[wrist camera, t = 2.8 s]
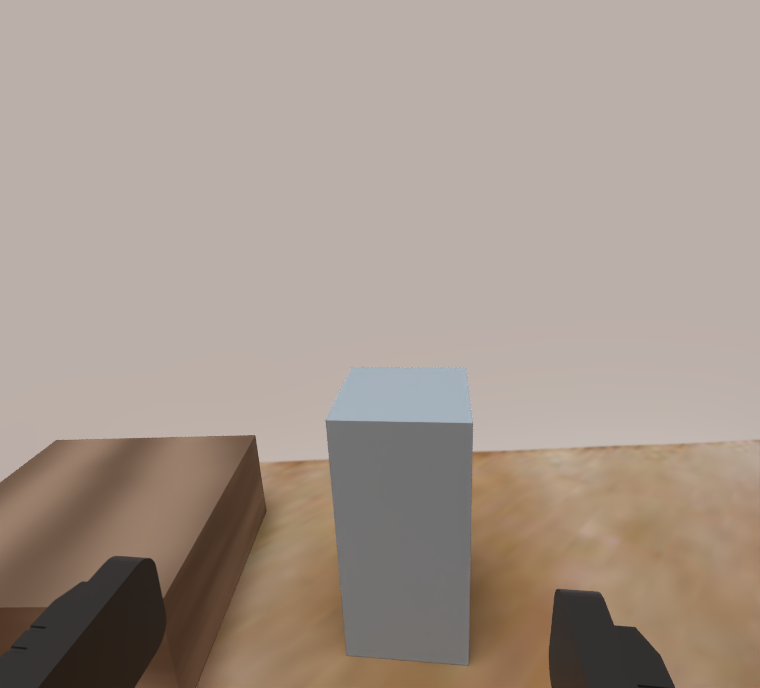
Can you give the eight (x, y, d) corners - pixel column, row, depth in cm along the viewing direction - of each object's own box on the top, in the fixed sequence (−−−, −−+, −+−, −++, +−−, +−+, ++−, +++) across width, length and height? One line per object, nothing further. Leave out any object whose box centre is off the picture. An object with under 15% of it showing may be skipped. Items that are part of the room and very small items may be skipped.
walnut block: (266, 514, 33) (255, 435, 31) (186, 718, 20) (158, 606, 18) (78, 518, 33) (56, 440, 31) (-110, 717, 21) (-167, 608, 19)
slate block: (463, 571, 27) (466, 367, 23) (468, 665, 22) (472, 422, 18) (365, 565, 27) (351, 367, 24) (346, 655, 22) (325, 420, 18)
